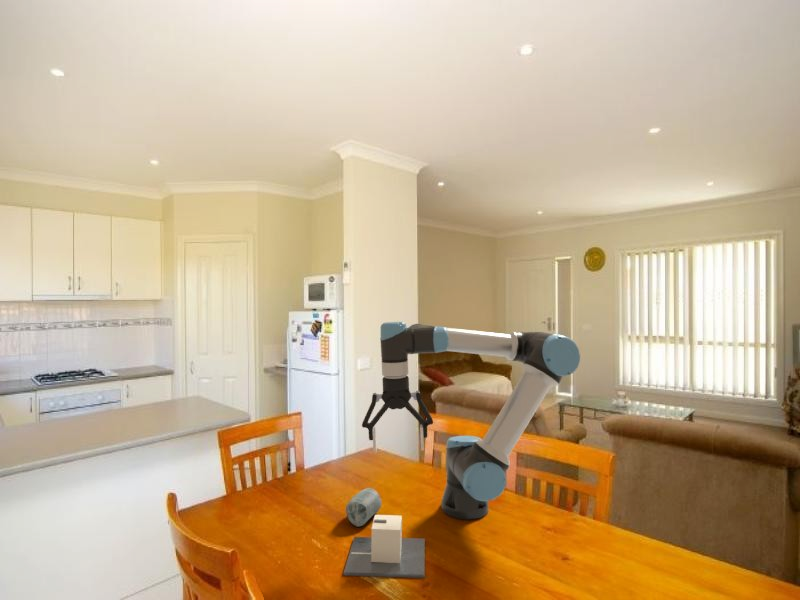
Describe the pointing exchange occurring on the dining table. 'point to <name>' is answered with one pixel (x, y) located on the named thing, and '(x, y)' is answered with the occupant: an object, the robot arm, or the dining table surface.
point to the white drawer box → (386, 539)
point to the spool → (363, 506)
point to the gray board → (408, 566)
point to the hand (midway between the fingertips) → (398, 450)
